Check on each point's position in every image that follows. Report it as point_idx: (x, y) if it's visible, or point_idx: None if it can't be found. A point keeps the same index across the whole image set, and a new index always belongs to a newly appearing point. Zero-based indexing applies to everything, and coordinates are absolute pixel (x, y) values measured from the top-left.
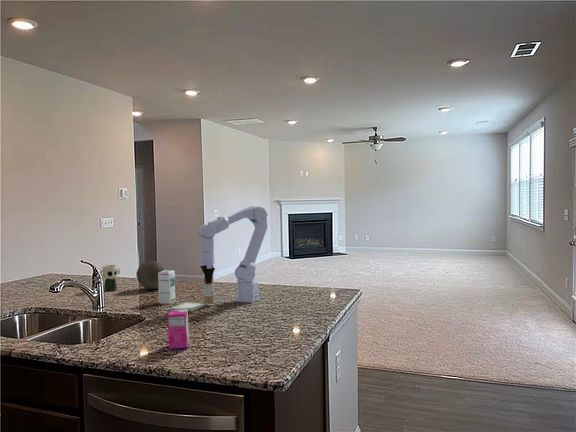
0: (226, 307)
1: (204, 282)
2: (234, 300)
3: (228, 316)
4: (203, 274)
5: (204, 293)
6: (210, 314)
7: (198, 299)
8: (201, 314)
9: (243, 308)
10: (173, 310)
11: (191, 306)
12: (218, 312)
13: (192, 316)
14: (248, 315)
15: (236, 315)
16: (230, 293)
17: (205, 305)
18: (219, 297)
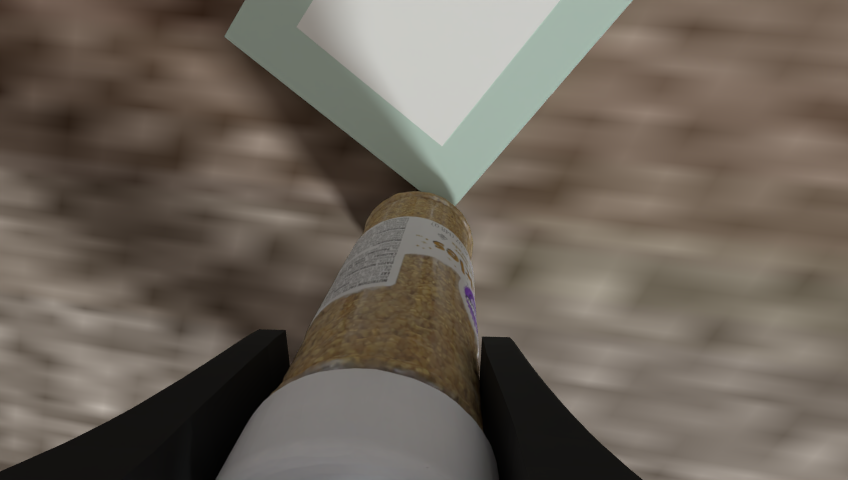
0: None
1: (337, 314)
2: None
3: (13, 323)
4: (304, 423)
5: (377, 232)
6: (89, 200)
7: (772, 159)
8: (97, 119)
9: None
10: None
11: (386, 39)
12: (149, 273)
13: (28, 20)
14: (34, 445)
15: (40, 378)
16: (837, 475)
17: None
18: (730, 367)
